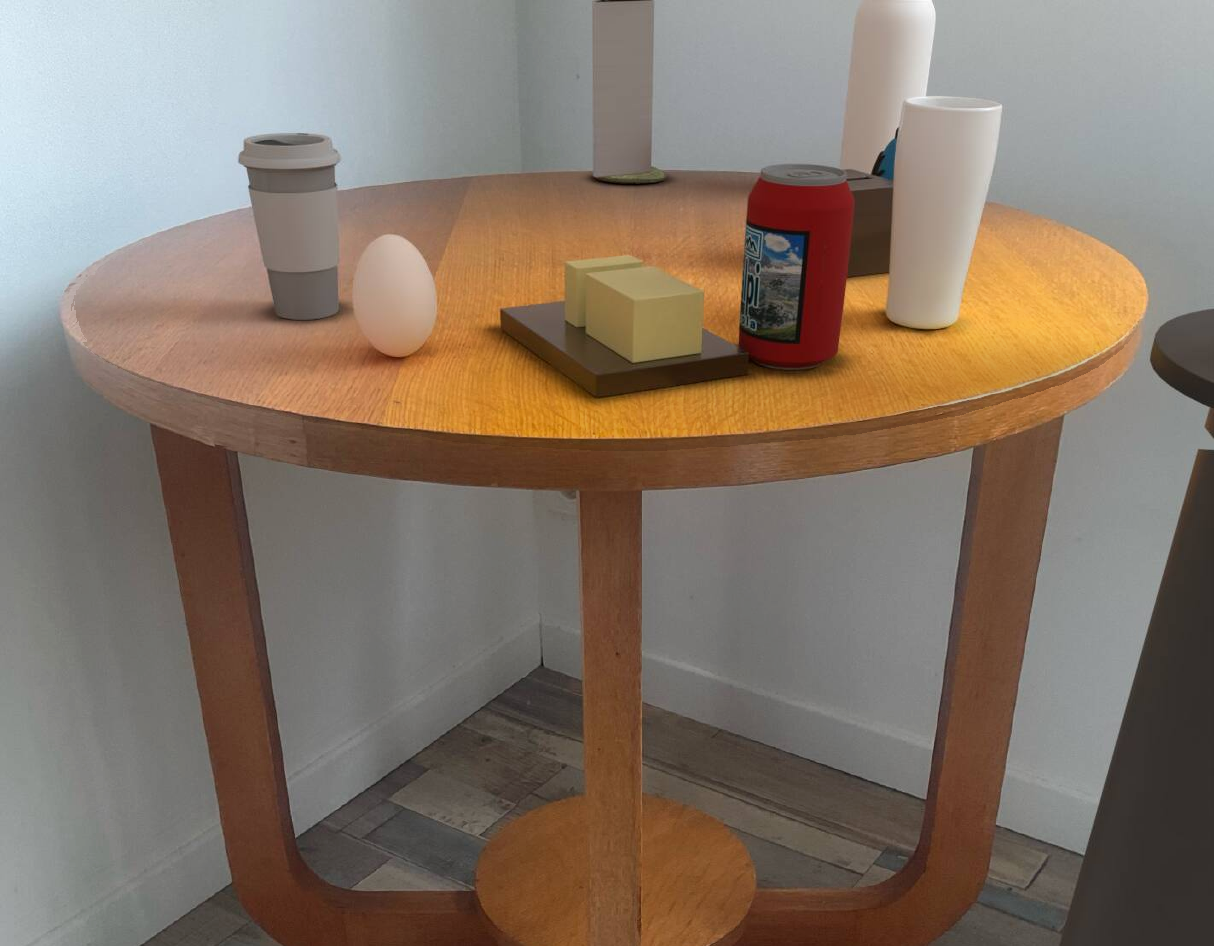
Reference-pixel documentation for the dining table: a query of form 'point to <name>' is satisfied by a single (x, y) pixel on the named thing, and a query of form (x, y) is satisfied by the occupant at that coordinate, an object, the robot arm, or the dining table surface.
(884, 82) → the bottle
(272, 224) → the cup
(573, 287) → the butter slice
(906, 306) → the drinking glass
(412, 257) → the egg
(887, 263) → the knife block
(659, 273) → the butter block
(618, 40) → the knife
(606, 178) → the medallion
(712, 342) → the board
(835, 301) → the beverage can
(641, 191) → the dining table surface
